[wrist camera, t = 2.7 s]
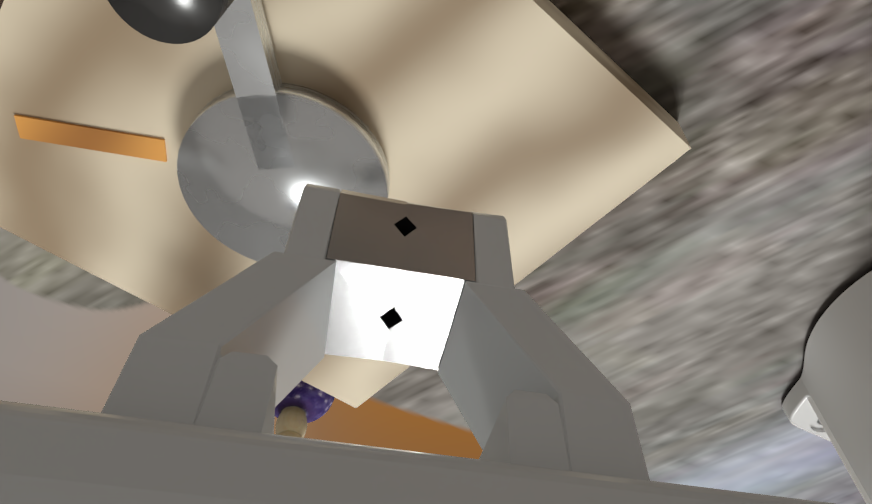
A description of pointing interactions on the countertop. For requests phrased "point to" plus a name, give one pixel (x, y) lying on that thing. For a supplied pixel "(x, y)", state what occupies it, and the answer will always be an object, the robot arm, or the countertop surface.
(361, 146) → the silver disc with handle
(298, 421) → the toy lamp
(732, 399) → the countertop surface
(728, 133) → the countertop surface
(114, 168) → the birch stand
